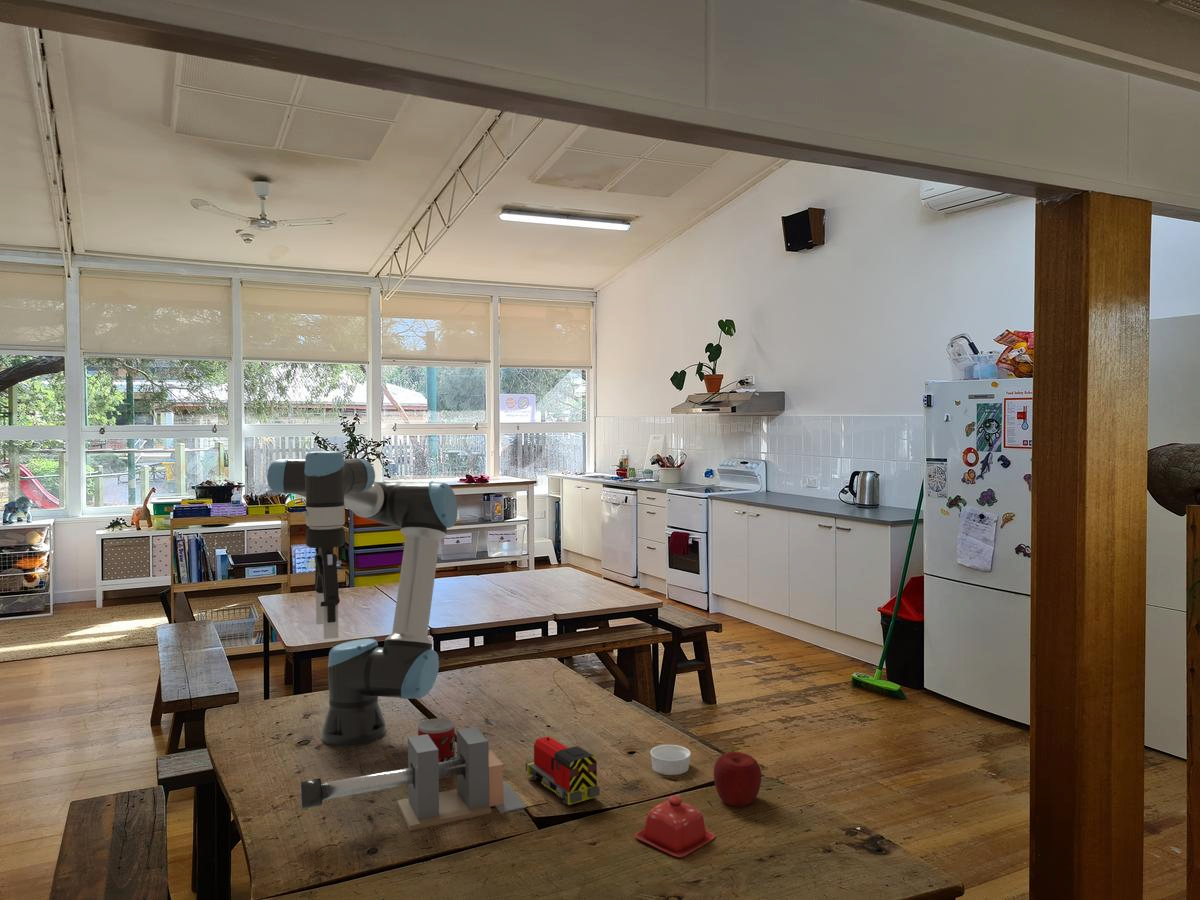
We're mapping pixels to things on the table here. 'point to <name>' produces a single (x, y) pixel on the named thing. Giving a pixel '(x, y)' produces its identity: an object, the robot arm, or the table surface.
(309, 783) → the shaft
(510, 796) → the mat
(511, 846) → the table surface
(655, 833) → the butter dish
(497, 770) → the block
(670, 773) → the ramekin
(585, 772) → the toy train
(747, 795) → the apple
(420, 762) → the bearing frame
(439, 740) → the canned food
